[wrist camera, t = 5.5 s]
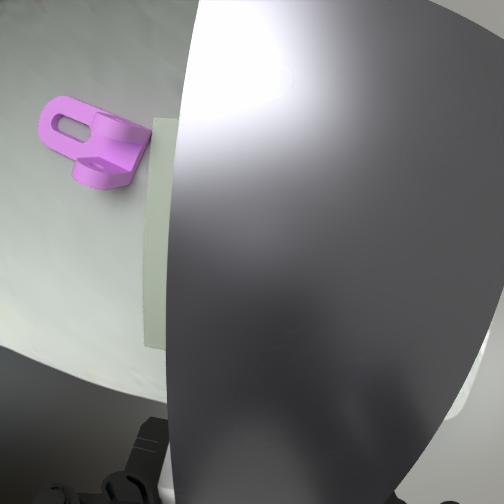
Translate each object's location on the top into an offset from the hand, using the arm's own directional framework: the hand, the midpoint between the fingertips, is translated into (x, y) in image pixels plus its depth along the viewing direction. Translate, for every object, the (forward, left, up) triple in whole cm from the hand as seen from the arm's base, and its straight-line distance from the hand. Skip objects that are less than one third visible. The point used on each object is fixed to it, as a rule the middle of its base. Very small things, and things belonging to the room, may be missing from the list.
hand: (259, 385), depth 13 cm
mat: (-8, 0, -19) cm, 21 cm away
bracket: (-18, +10, -19) cm, 29 cm away
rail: (0, 0, +2) cm, 2 cm away
